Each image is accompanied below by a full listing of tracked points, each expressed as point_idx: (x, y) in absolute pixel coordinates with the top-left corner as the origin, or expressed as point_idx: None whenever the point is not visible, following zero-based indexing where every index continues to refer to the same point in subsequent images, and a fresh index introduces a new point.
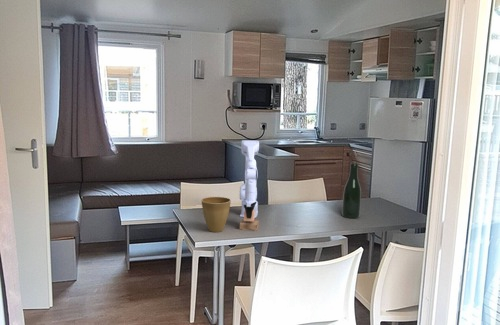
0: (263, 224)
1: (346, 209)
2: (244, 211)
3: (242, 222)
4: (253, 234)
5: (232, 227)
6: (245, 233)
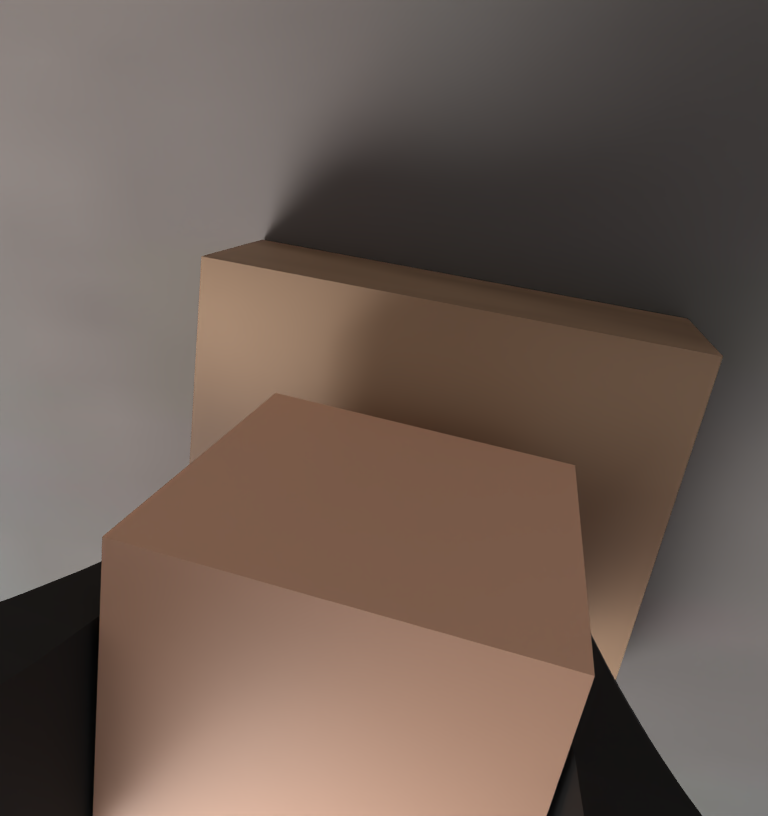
0: (688, 782)
1: None
2: (109, 556)
3: (357, 341)
4: (12, 495)
5: (423, 43)
6: (31, 354)
